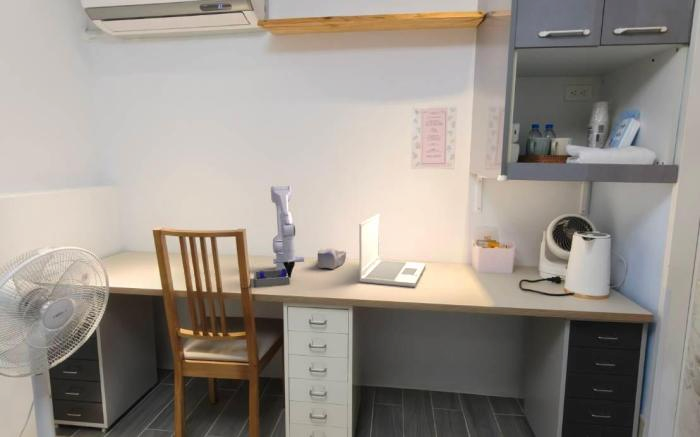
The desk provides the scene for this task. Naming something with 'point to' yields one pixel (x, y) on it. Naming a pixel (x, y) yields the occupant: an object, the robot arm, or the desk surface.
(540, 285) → the desk surface
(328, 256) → the grey rounded block
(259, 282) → the box
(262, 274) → the cable clip
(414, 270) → the laptop
